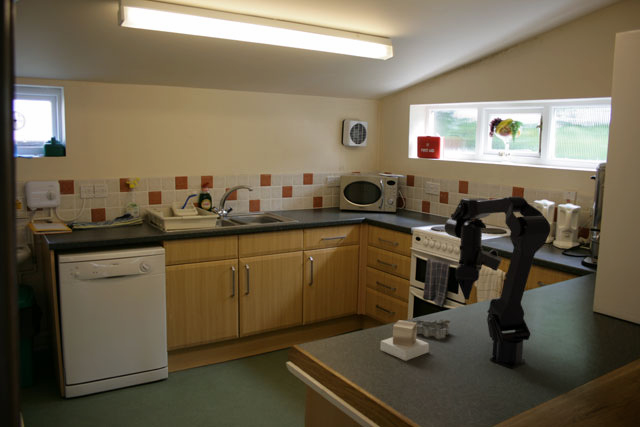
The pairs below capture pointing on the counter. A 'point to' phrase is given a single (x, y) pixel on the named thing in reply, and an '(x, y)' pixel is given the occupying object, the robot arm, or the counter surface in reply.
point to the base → (404, 349)
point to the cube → (404, 333)
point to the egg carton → (433, 328)
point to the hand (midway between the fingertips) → (468, 294)
